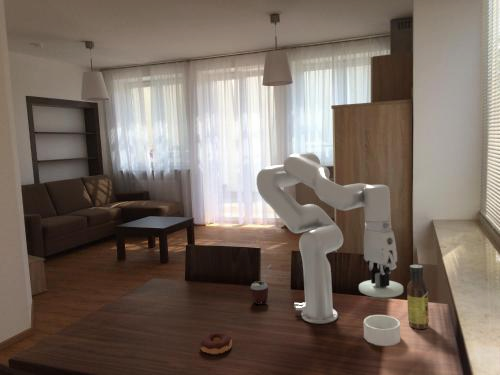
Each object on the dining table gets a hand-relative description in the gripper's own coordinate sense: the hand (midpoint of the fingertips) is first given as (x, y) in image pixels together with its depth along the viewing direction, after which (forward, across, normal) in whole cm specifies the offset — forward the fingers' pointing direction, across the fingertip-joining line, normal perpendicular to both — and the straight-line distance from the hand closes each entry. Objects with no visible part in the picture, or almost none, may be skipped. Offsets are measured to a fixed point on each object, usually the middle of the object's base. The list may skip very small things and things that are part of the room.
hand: (380, 283), depth 126 cm
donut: (+18, +21, +47) cm, 55 cm away
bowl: (+17, 0, 0) cm, 17 cm away
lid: (+2, 0, 0) cm, 2 cm away
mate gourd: (+17, +47, +20) cm, 54 cm away
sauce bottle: (+17, 0, -15) cm, 23 cm away
